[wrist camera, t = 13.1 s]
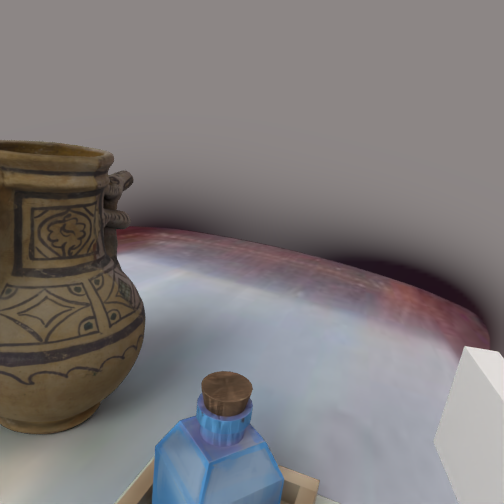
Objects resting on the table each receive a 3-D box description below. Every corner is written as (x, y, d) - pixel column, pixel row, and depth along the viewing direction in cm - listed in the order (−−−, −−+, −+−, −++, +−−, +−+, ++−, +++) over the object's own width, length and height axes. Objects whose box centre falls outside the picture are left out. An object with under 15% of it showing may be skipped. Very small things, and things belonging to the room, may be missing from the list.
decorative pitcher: (7, 529, 31) (-17, 173, 24) (-129, 429, 38) (-180, 131, 31) (186, 383, 50) (205, 158, 42) (72, 334, 57) (71, 134, 50)
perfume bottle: (225, 485, 35) (242, 351, 31) (271, 550, 30) (297, 401, 27) (151, 517, 32) (159, 371, 28) (189, 597, 27) (205, 432, 23)
